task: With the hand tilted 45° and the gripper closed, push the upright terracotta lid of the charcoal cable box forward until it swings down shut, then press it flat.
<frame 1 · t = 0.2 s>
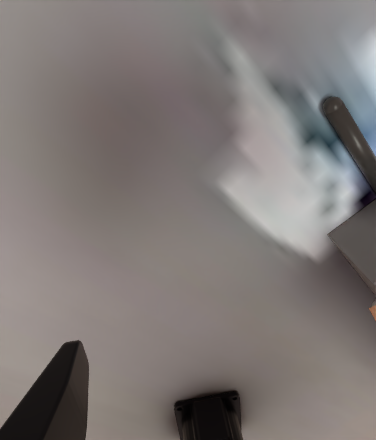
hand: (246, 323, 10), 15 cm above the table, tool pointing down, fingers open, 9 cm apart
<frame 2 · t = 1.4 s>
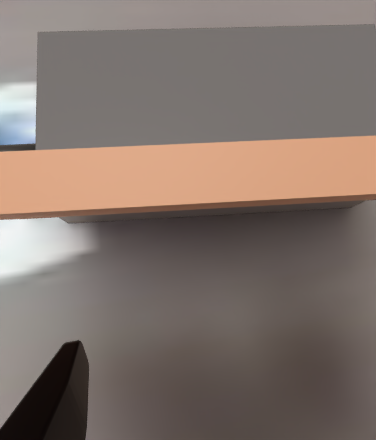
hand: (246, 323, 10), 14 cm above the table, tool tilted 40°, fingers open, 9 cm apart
lid: (255, 188, 13), point 12 cm above the table, hinge at 102.4°
cable box: (207, 148, 25), on the table
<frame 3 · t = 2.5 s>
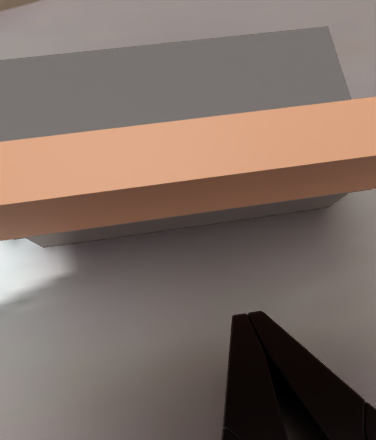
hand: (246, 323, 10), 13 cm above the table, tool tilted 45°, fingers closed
lid: (210, 186, 12), point 12 cm above the table, hinge at 102.4°
cable box: (179, 161, 25), on the table
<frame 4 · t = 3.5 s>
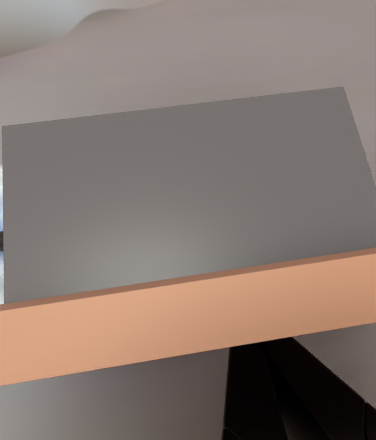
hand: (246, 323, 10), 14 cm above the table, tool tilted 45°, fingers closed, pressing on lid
lid: (228, 289, 12), point 12 cm above the table, hinge at 97.0°, touching gripper
cable box: (188, 216, 25), on the table
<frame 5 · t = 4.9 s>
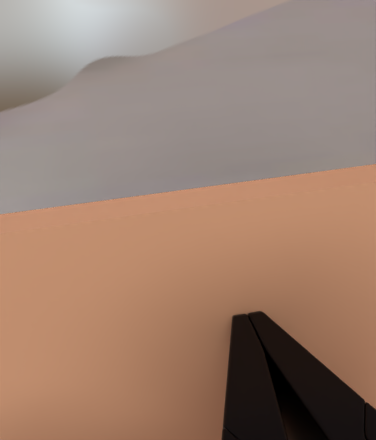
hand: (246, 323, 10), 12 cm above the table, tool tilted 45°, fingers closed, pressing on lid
lid: (241, 357, 11), point 10 cm above the table, hinge at 41.0°, touching gripper
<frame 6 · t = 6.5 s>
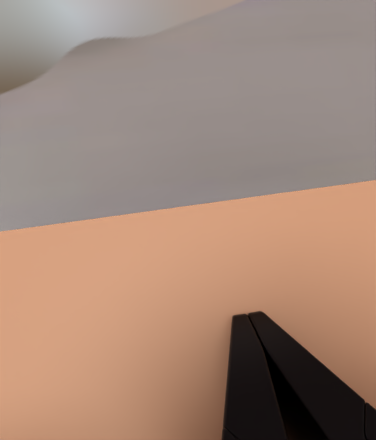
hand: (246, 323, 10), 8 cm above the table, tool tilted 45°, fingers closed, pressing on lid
lid: (251, 389, 10), point 7 cm above the table, hinge at -0.8°, touching gripper
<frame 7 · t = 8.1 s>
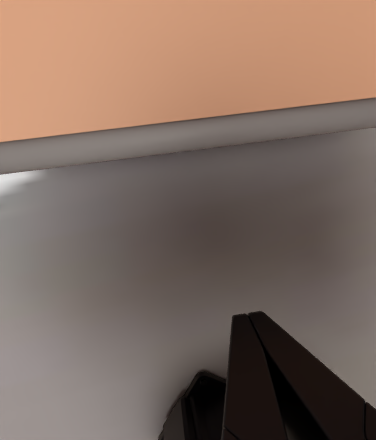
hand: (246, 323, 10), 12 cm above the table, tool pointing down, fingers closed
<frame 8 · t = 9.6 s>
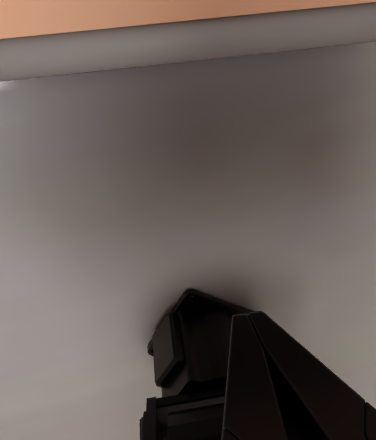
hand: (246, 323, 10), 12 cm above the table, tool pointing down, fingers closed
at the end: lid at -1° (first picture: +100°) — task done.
